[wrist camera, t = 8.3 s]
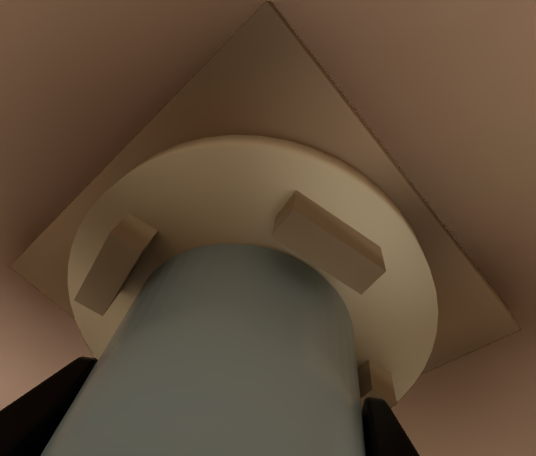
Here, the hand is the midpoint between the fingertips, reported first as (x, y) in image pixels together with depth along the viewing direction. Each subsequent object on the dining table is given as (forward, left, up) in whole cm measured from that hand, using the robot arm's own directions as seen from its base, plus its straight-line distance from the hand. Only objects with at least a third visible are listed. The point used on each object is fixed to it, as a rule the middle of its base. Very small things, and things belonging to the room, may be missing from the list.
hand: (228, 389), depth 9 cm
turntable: (0, 0, -3) cm, 3 cm away
